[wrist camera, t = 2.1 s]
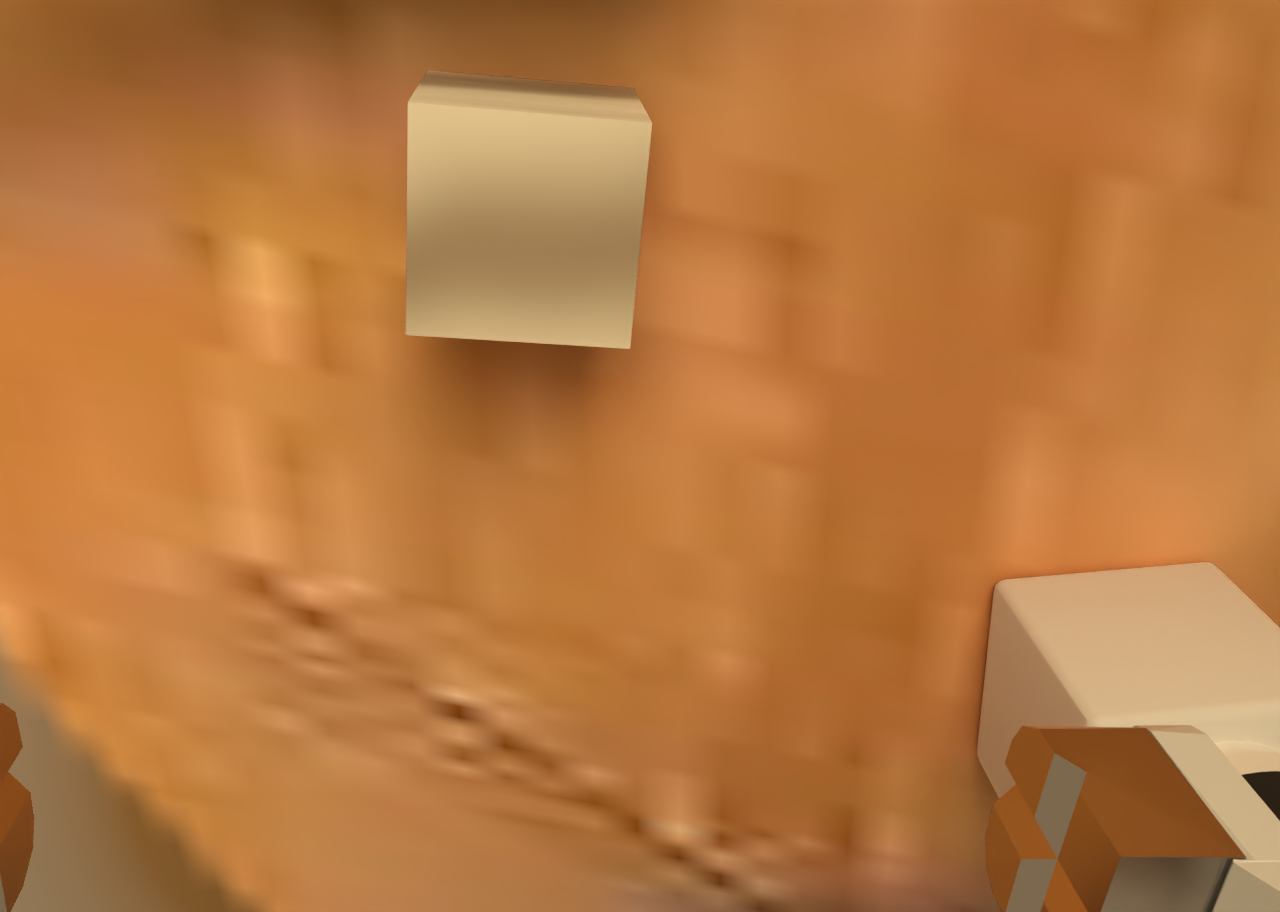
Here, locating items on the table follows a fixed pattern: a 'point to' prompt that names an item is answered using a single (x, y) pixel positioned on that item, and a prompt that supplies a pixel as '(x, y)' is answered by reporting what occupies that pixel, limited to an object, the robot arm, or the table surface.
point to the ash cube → (524, 209)
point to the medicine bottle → (1134, 663)
